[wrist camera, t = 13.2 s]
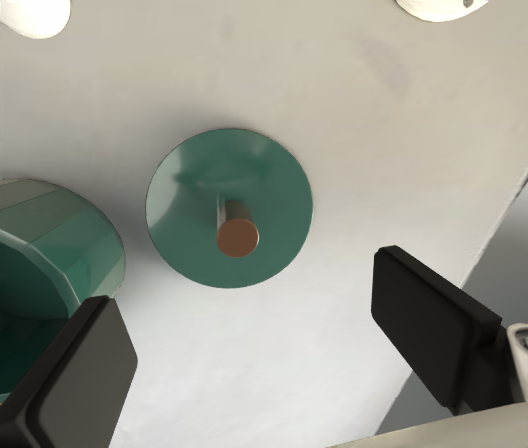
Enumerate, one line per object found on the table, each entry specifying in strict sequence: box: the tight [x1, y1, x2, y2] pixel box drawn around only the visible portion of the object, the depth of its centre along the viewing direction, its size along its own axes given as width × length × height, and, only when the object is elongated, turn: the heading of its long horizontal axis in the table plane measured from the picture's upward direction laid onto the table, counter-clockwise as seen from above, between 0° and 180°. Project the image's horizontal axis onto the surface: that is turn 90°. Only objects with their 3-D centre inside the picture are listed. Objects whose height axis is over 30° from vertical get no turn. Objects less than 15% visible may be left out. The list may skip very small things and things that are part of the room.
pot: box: [0, 179, 126, 404], centre depth 19 cm, size 14×14×8 cm
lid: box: [145, 129, 313, 288], centre depth 21 cm, size 15×15×6 cm
